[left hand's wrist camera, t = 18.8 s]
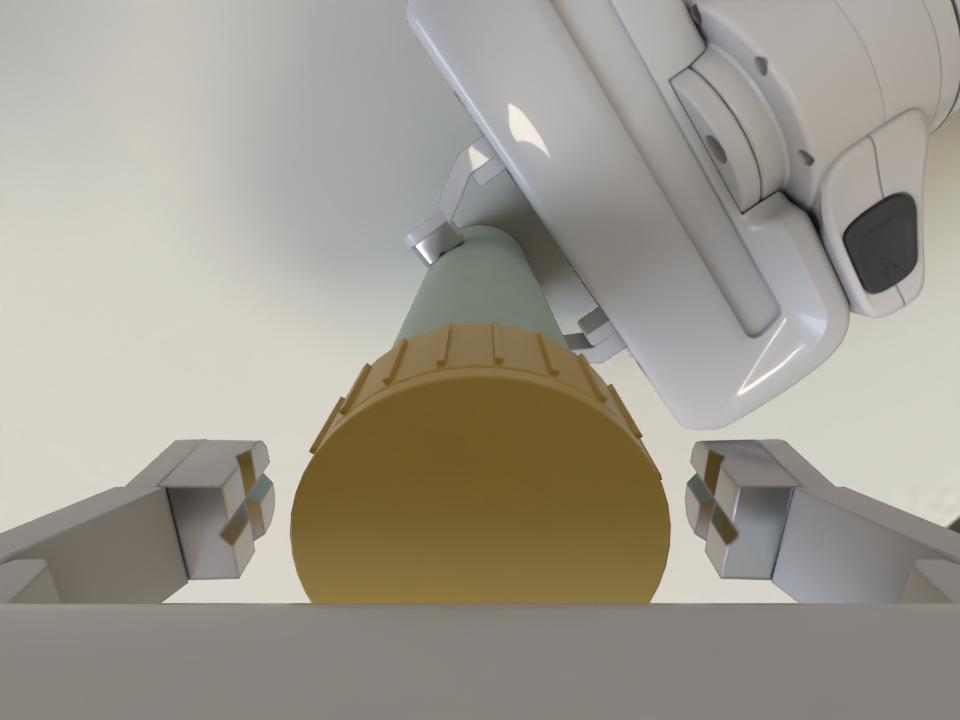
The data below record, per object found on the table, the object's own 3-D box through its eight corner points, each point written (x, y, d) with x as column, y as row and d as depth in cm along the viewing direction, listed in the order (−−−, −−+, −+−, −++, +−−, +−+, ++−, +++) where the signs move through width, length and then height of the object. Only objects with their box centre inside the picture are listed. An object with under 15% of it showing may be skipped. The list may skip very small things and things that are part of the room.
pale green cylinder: (544, 293, 27) (672, 562, 9) (460, 335, 28) (425, 660, 10) (501, 206, 26) (552, 320, 8) (414, 253, 26) (271, 458, 8)
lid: (352, 285, 9) (309, 328, 7) (677, 359, 9) (740, 423, 7) (310, 553, 11) (265, 657, 9) (580, 604, 11) (605, 715, 9)
